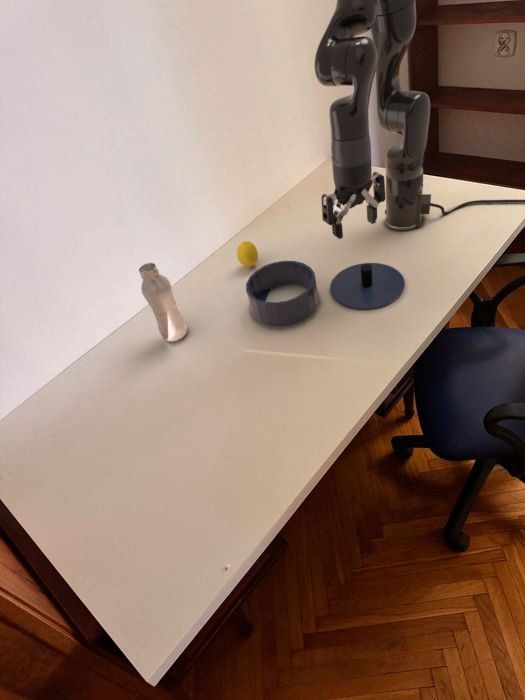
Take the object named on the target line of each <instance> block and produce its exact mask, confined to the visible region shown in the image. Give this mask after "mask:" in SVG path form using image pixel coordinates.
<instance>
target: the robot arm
mask: <svg viewBox="0 0 525 700" xmlns="http://www.w3.org/2000/svg"><path fill="white" fill-rule="evenodd" d="M416 27H417V8H416V0H336V5H335V10H334V11H333V14H332V16H331V19H330V20H329V23H328V24H327V27H326V29H325V31H324V33H323V35H322V37H321V39H320V40H319V44H318V45H317V49H316V53H315V56H314V61H313V62H314V64H313V68H314V69H313V70H314V75H315V78H316V80H317V82H318V83H319V84H320V85H322V86H323V87H328V88H329V87H330V88H331V87H332V88H333V87H352V86H353V93H352V94H349V95H346V96H343V97H340V98H338V99H335V100H334V101H333V102H332V103H331V104H330V106H329V110H328V111H329V113H328V115H329V127H330V154H331V165H332V177H333V183H334V191H333V192H332V193H330V194H328V195H327V194H326V193H323V194H322V195H321V214H322V216H321V217H322V221H323V222H324V223H325V224H327V225H329V226H331V230H332V231H331V232H332V235H333V236H335V237H336V239H339V240H341V239H343V238H344V232H343V223H342V221H343V219H344V217H345V216H347V214H348V213H349V211H350V209H353V208H355V207H356V206H359V205H362V204H364V202H365V203H367V205H366V220H367V223H370V224H371V225H374V224H376V223H377V219H378V207H379V204H380V203H384V202H385V210H384V215H385V225H386V226H387V227H388V228H389V229H391V230H394V231H410V230H412V229H415V228H420V227H421V225H422V221H423V220H422V219H423V218H422V217H423V215H430V211H431V207H433V208H438V209H440V210H441V215H445V216H446V215H449V214H452V213H454V212H455V211H457V210H459V209H461V208H463V207H465V206H468V205H474V204H500V203H501V204H505V203H507V204H508V203H513V204H514V203H519V204H520V203H521V204H522V203H525V199H480V200H479V199H478V200H470V201H467V202H463V203H461V204H459V205H457V206H456V207H454V208H453V209H451V210H447V211H445V208H444V206H442V205H441V204H437V203H433V202H431V201H432V194H431V193H429V194H427V193H425V194H424V170H425V169H424V168H425V154H426V150H427V146H428V141H429V129H430V121H431V111H432V110H431V108H432V107H431V99H430V96H429V95H428V94H427V93H426V92H423V91H419V90H407V89H402V86H401V80H400V79H401V78H400V77H401V76H400V72H401V71H400V69H401V64H402V61H403V58H404V56H405V54H406V52H407V50H408V48H409V46H410V44H411V41H412V39H413V37H414V34H415V31H416ZM368 31H369V33H370V37H368V36H361V35H363V34H365V33H367V32H368ZM374 78H375V96H376V115H377V121H378V124H379V127H380V129H381V130H382V131H384V132H386V133H389V134H393V135H394V134H395V135H401V136H403V139H402V142H399V143H396V144H393V145H391V146H390V147H389V148H388V149H387V150H386V152H385V176H384V175H383V174H381V173H379V172H377V171H374V172H373V171H372V144H371V143H372V142H371V136H370V123H369V122H370V121H369V107H370V98H371V93H372V87H373V83H374ZM372 172H373V173H372ZM372 186H373V187H372ZM371 188H372V190H373V195H372V194H370V190H371ZM341 206H343V207H341Z"/></svg>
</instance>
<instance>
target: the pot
mask: <svg viewBox="0 0 525 700" xmlns="http://www.w3.org/2000/svg"><path fill="white" fill-rule="evenodd" d="M287 285H294V286H295V285H296V286H300V287H301V286H302V287H304V288H306V290H305V291H304V292H302V293H300V294H299V295H298V296H295V297H293V298H290V299H288V300H283V301H282V300H281V301H277V302H276V301H274V302H273V301H267V299H268V297H269V295H270V292H271V290H272V289H274V288H276V287H280V286H287ZM245 291H246V297H247V300H248V303H249V306H250V310H251V314H252V316H253V318H254V319H255V320H256V321H258V322H259V323H260V324H262V325H266V326H269V327H277V328H282V327H289V326H293V325H296V324H299V323H302V322H304V321H305V320H307V319H308V318H309V317H311V316H312V315H313V314H314V313H315V311H316V310H317V308H318V305H319V302H320V301H319V295H318V288H317V279H316V274H315V271H314V270H313V268H312V267H311V266H309V265H308V264H306V263H304V262H301V261H297V260H281V261H274V262H270V263H268V264H266V265H263V266H261V267H260V268H258V269H256V270H255V271H254V272H253V273H252V274H251V275H250V276H249V277H248V279H247V281H246V284H245Z"/></svg>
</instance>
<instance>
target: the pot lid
mask: <svg viewBox="0 0 525 700" xmlns="http://www.w3.org/2000/svg"><path fill="white" fill-rule="evenodd" d="M405 284H406V282H405V278H404V276H403V274H402V273H401V272H400V271H399V270H398V269H396V268H395V267H393V266H391V265H388V264H384V263H378V262H362V263H357V264H353V265H350V266H348V267H345V268H343V270H341V271H339V272H338V273H337V274H336V275H335V276H334V278H333V279H332V281H331V283H330V293H331V296H332V298H333V299H334V300H335V301H336V302H337V303H339V304H340V305H341V306H343V307H346V308H348V309H353V310H357V311H358V310H359V311H370V310H377V309H381V308H384V307H387V306H389V305H391V304H393V303H394V302H396V301H397V300H398V299H399V298H400V297H401V296H402V294H403V292H404V290H405V286H406V285H405Z"/></svg>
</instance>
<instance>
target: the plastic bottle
mask: <svg viewBox="0 0 525 700" xmlns="http://www.w3.org/2000/svg"><path fill="white" fill-rule="evenodd" d="M138 272H139V275H140V278H141V279H142V282H141V287H140V289H141V290H140V291H141V295H142V296H143V298H144V299H145V300H146V302H147V304H148V305H149V307H150V309H151V311H152V312H153V315H154V317H155V320H156V323H157V329H158V332H159V334H160V336H161V337H162V338H163V340H165V341H167V342H176V341H179V340H181V339H182V338H184V337H185V336H186V334H187V332H188V325H187V321H186V320H185V317H183V315H182V314H181V312H180V310H179V308H178V306H177V302H176V299H175V297H174V293H173V288H172V283H171V281H170V280H169V279H168V277H166V276H164V275H163V274H161V273H160V270H159V268H158V267H157V265H156V264H155V263H153V262H147V263H144V264H143V265H141V266H140V267H139V268H138Z"/></svg>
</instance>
